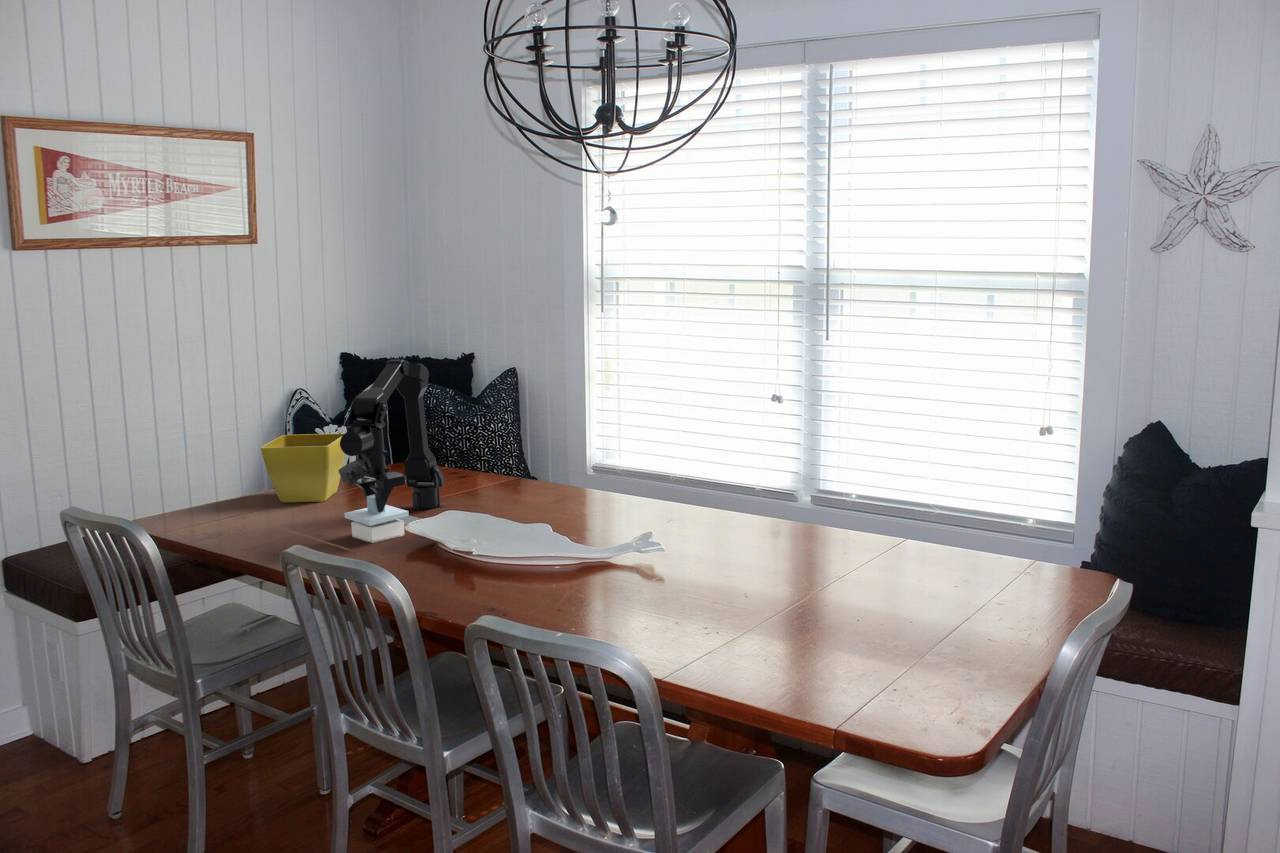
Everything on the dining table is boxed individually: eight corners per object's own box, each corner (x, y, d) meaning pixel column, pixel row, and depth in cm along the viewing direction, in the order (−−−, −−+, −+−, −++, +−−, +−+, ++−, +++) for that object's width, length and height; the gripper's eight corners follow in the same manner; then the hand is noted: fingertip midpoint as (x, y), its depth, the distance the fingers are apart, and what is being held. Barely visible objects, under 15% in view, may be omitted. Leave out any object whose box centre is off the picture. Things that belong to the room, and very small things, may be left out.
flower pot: (332, 504, 302) (327, 445, 300) (264, 506, 303) (259, 447, 300) (351, 489, 321) (347, 433, 318) (287, 490, 322) (282, 434, 319)
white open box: (384, 530, 273) (382, 515, 272) (404, 536, 267) (403, 520, 266) (352, 538, 266) (351, 522, 266) (372, 544, 260) (371, 528, 260)
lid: (383, 508, 273) (381, 488, 272) (408, 515, 266) (407, 495, 265) (344, 517, 266) (343, 497, 265) (369, 525, 258) (368, 504, 257)
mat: (397, 513, 290) (397, 512, 289) (426, 521, 281) (426, 519, 281) (354, 523, 280) (354, 522, 280) (382, 532, 271) (382, 530, 271)
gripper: (321, 448, 263) (326, 511, 266) (364, 457, 251) (369, 523, 253) (361, 441, 271) (366, 502, 274) (405, 450, 259) (409, 514, 261)
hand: (376, 510), depth 265 cm, fingers closed on lid, 3 cm apart
